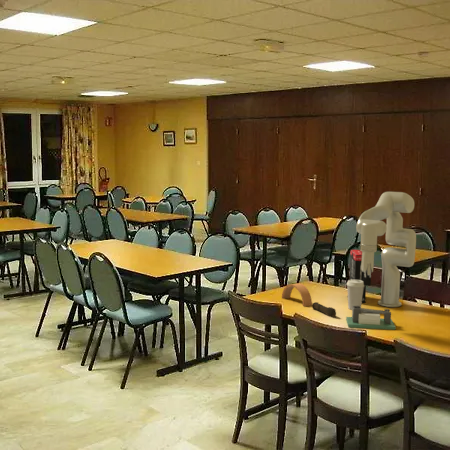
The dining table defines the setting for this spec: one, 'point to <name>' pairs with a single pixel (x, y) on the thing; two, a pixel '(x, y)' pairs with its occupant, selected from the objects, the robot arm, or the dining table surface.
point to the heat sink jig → (369, 320)
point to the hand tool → (324, 309)
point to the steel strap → (372, 310)
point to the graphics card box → (357, 269)
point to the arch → (303, 291)
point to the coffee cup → (355, 293)
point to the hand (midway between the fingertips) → (367, 285)
